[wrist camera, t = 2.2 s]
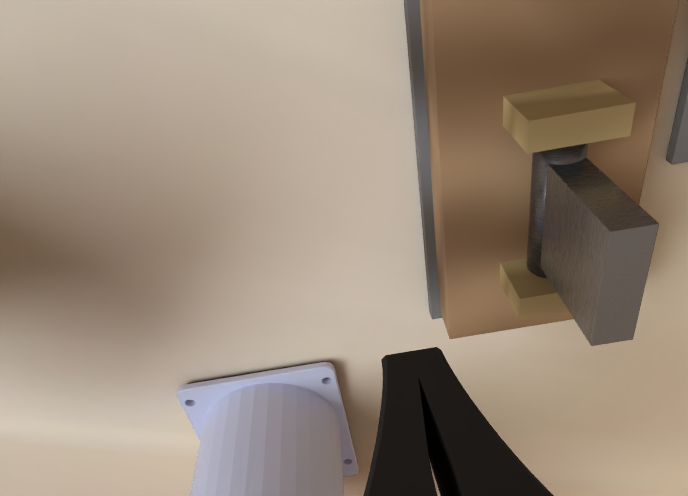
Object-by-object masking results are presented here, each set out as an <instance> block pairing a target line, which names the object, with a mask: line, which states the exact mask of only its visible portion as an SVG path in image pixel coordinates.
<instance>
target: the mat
mask: <svg viewBox="0 0 688 496" xmlns="http://www.w3.org/2000/svg"><path fill="white" fill-rule="evenodd" d="M666 160H667V161H668V162H670V163H671V164H676V163H681V162H687V161H688V61H687V65H686V70H685V74H684V79H683V84H682V88H681V93H680V97H679V102H678V107H677V111H676V116H675V120H674V125H673V130H672V134H671V139H670V143H669V148H668V153H667V157H666Z"/></svg>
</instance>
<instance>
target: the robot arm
mask: <svg viewBox="0 0 688 496" xmlns="http://www.w3.org/2000/svg"><path fill="white" fill-rule="evenodd" d="M381 360H382V368H383V390H382V402H381V411H380V418H379V425H378V432H377V438H376V444H375V449H374V453H373V458H372V463H371V468H370V472H369V477H368V481H367V485H366V488H365V492H364V496H437V492H436V488H435V484H434V480H433V476H432V471H431V466H432V469H433V472H434V476H435V479H436V482H437V485H438V488H439V492H440V495H441V496H553V495H552V494H551V493H550V492H549V491H548V490H547V489H546V488H545V486H544V485H543V484H542V483H541V482H540V481H539V480H538V479H537V478H536V477H535V476H534V475H533V474H532V473H531V472H530V471H529V470H528V469H527V467H526V466H525V465H524V464H523V463H522V462H521V461H520V460H519V459H518V457H517V456H516V455H515V454H514V453H513V452H512V450H511V449H510V448H509V447H508V446H507V445H506V443H505V442H504V441H503V440H502V439H501V437H500V436H499V435H498V434H497V433H496V431H495V430H494V429H493V428H492V426H491V425H490V424H489V422H488V421H487V420H486V418H485V417H484V416H483V414H482V413H481V412H480V410H479V409H478V408H477V406H476V405H475V404H474V402H473V401H472V400H471V398H470V397H469V395H468V394H467V393H466V391H465V390H464V388H463V387H462V385H461V384H460V382H459V381H458V379H457V377H456V376H455V374H454V373H453V371H452V369H451V368H450V366H449V364H448V362H447V360H446V359H445V357H444V355H443V353H442V351H441V350H440V349H439V348H437V347H434V348H428V349H422V350H416V351H409V352H403V353H397V354H391V355H386V356H385V357H384V358H383V359H381ZM326 377H329V378H326ZM177 398H178V400H179V402H180V404H181V405H182V407H183V409H184V411H185V413H186V415H187V417H188V419H189V421H190V423H191V425H192V427H193V429H194V431H195V432H196V434H197V436H198V438H199V440H200V444H199V449H198V455H197V460H196V465H195V471H194V476H193V482H192V487H191V493H190V496H344V484H343V477H348V476H353V475H355V474H357V473H358V470H359V469H358V463H357V458H356V454H355V450H354V446H353V442H352V438H351V434H350V429H349V425H348V421H347V417H346V413H345V409H344V405H343V400H342V396H341V392H340V388H339V384H338V380H337V376H336V371H335V367H334V366H333V364H331V363H329V362H320V363H314V364H308V365H302V366H296V367H290V368H284V369H277V370H271V371H265V372H259V373H253V374H247V375H240V376H234V377H228V378H222V379H216V380H210V381H204V382H197V383H191V384H185V385H182V386H180V387H179V389H178V392H177ZM429 459H430V460H429ZM430 463H431V466H430Z"/></svg>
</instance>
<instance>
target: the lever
mask: <svg viewBox="0 0 688 496" xmlns="http://www.w3.org/2000/svg"><path fill="white" fill-rule="evenodd" d="M587 149H588V143H586V144H581V145H575V146H569V147H563V148H557V149H552V150H546V151H540V152H534V153H533V155H532V173H531V191H530V208H529V226H528V244H527V261H526V265H527V268H528V270H529V271H530V272H531V273H533V274H534V275H536V276H539V277H542V278H547V279H549V281H550V283H551V284H552V286H553V287H554V289H555V290H556V292H557V293H558V295H559V296H560V298H561V300H562V301H563V303H564V304H565V306H566V307H567V309H568V310H569V312H570V313H571V315H572V317H573V318H574V320H575V321H576V323H577V324H578V326H579V327H580V329H581V330H582V332H583V334H584V335H585V337H586V338H587V340H588V341H589V343H590V344H591V346H594V345H600V344H607V343H613V342H619V341H625V340H632V339H633V337H634V332H635V328H636V323H637V319H638V314H639V310H640V306H641V301H642V297H643V292H644V288H645V284H646V279H647V275H648V270H649V266H650V261H651V257H652V253H653V248H654V244H655V239H656V235H657V231H658V226H659V223H658V222H656V221H655V220H654V219H653V218H652V217H651V216H650V215H649V214H648V213H647V212H646V211H644V210H643V209H642V208H641V207H640V206H639V205H638V204H637V203H636V202H635V201H634V200H632V199H631V198H630V197H629V196H628V195H627V194H626V193H625V192H624V191H623V190H622V189H620V188H619V187H618V186H617V185H616V184H615V183H614V182H613V181H612V180H611V179H609V178H608V177H607V176H606V175H605V174H604V173H603V172H602V171H601V170H600V169H599V168H597V167H596V166H595V165H594V164H593V163H592V162H591V161H590V160H589V159H588V158H586V157H587Z"/></svg>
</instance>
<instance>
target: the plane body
mask: <svg viewBox="0 0 688 496" xmlns="http://www.w3.org/2000/svg"><path fill="white" fill-rule="evenodd" d="M678 2H679V0H404V7H405V19H406V31H407V43H408V56H409V68H410V80H411V92H412V104H413V117H414V129H415V141H416V153H417V165H418V178H419V190H420V202H421V214H422V227H423V239H424V251H425V263H426V275H427V288H428V300H429V311H430V314H431V317H432V319H437V318H443V320H444V323H445V326H446V329H447V332H448V335H449V338H450V339H454V338H460V337H466V336H472V335H478V334H484V333H490V332H497V331H503V330H509V329H515V328H521V327H527V326H534V325H540V324H546V323H552V322H558V321H564V320H570V319H574V318H573V317H572V315H571V313H570V312H569V310H568V309H567V307H566V306H565V304H564V303H563V301H562V300H561V298H560V296H559V295H558V293H557V292H556V290H555V289H554V287H553V286H552V284H551V283H550V281H549V279H547V278H542V277H539V276H536V275H534V274H533V273H531V272H530V271H529V270H528V268H527V265H526V261H527V244H528V226H529V208H530V191H531V173H532V155H533V153H534V152H540V151H546V150H552V149H557V148H563V147H569V146H575V145H581V144H586V143H588V149H587V157H586V158H588V159H589V160H590V161H591V162H592V163H593V164H594V165H595V166H596V167H597V168H599V169H600V170H601V171H602V172H603V173H604V174H605V175H606V176H607V177H608V178H609V179H611V180H612V181H613V182H614V183H615V184H616V185H617V186H618V187H619V188H620V189H622V190H623V191H624V192H625V193H626V194H627V195H628V196H629V197H630V198H631V199H632V200H634V201H635V202H636V203H637V204H638V205H639V202H640V196H641V191H642V186H643V181H644V176H645V171H646V166H647V161H648V156H649V150H650V145H651V140H652V135H653V130H654V125H655V120H656V115H657V109H658V104H659V99H660V94H661V89H662V84H663V79H664V74H665V68H666V63H667V58H668V53H669V48H670V43H671V38H672V33H673V28H674V22H675V17H676V12H677V7H678Z"/></svg>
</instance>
